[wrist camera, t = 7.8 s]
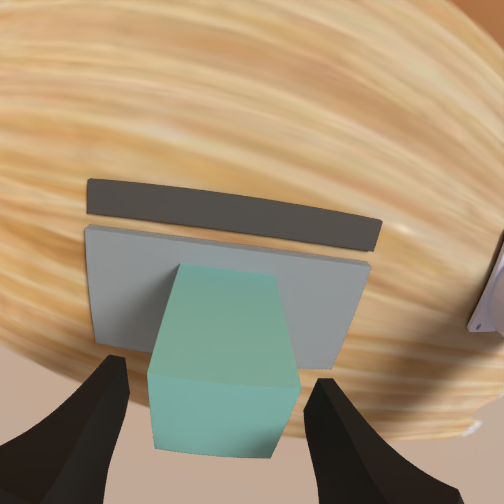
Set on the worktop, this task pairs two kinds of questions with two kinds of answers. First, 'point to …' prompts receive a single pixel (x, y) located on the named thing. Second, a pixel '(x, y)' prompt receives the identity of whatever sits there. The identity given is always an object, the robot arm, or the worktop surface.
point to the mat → (224, 257)
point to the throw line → (231, 213)
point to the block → (222, 366)
